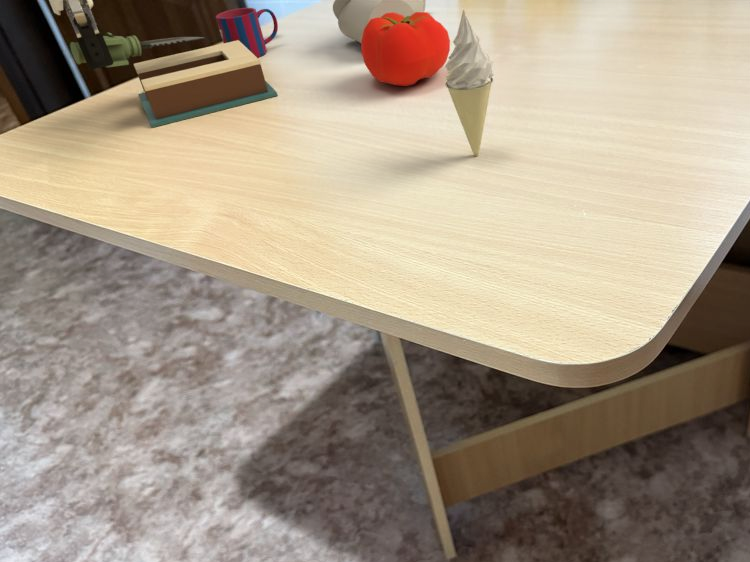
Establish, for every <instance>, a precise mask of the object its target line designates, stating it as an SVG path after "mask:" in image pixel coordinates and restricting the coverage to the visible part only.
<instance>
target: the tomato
mask: <svg viewBox="0 0 750 562" xmlns="http://www.w3.org/2000/svg"><path fill="white" fill-rule="evenodd" d="M360 47H361V48H360V49H361V56H362V60H363V62H364V65H365V67H366V68H367V69H368V72H369V73H370V75H371V76H372V77H373V78H374V79H376V80H377V81H378V82H381V83H384V84H389V85H394V86H399V87H408V86H409V87H410V86H412V85H416V83H417V82H418V81H419V80H424V79H427V78H432V77H433V76H435V74H437V72H439V71H440V70H441V69H442V67H444V66H445V65H446V63H447V60H448V58H449V55H450V50H451V40H450V36H449V32H448V29H446V28H445V27H444V25H443V24H442V23H441V22H439V21H438V20H436V19H435V18H434V16H433V15H431V13H429V12H426V11H424V12H415V13H414V14H413V15H411V16H407V17H404V16H403V15H400V14H396V13H386V14H384V15H383V16H381V17H380V18H379V17H378V18H373V19H371V20H370V21H369V22H368V24H367V25H366V27H365V29H364V31H363V36H362V40H361V43H360Z"/></svg>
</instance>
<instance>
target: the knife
mask: <svg viewBox="0 0 750 562" xmlns="http://www.w3.org/2000/svg"><path fill="white" fill-rule="evenodd" d="M105 34H106V35H103V38H104V40H105V42H106V45H107V47H108V50H109V52H110V55H111V57H112V60H113V64H112V65H109V66H105V67H104V68H113V67H121V66H128V65H130V62H129V59H130V57H132V58H135V57H141V56H142V53H143V51H142V50H144V49H145V50H146V49H153V48H154V47H163V46H170V45H175V44H181V43H186V42H187V43H188V42H192V41H197V40H203V39H205V37H204V36H179V37H168V38H166V37H165V38H159V39H150V40H143V41H141V40H139V39H138V37H137V36H136V35H129V36H126V37H125V36H122V35H113V34H112V32H106V33H105ZM69 47H70V51H71V55H72V57H73V59H74V61H75V63H76V64H77V65H81V64H87V63H86V60H85V58H84V56H83V53H82V51H81V49H80V46H79V44H78V42H77V41H76V42H74V41H71V42H70V44H69Z"/></svg>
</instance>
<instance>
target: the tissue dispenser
mask: <svg viewBox="0 0 750 562" xmlns="http://www.w3.org/2000/svg"><path fill="white" fill-rule="evenodd" d="M133 67H134V69H135V72H136V74H137V77H138V79H139V82H140V84H141V87H142V89H143V92H140V93H138V94H137V97H138V98H139V100H140V103H141V106H142V107H143V110H144V113H145V115H146V118H147V120H148V122H149V125H150V128H157V127H161V126H164V125H168V124H172V123H176V122H180V121H184V120H188V119H193V118H196V117H200V116H204V115H208V114H211V113H216V112H220V111H224V110H228V109H231V108H236V107H239V106H244V105H248V104H251V103H255V102H259V101H263V100H268V99H271V98H275V97H278V92H277V91H276V90H275V88H273V87H272V86H271V84H269V83H268V81H267V80H266V78H265V75H264V72H263V67H262V64H261V60H260V59H259V57H258V58H257V57H256V56H255V55H254V54H253V53H252V52H250V51H249V50H248V49H247V48H246V47H245V46H244V45H243V44H242V43H241V42H240V41H239V40H237V41H232V42H228V43H220V44H215V45H210V46H206V47H202V48H198V49H193V50H189V51H184V52H180V53H175V54H171V55H166V56H162V57H158V58H154V59H153V58H152V59H148V60H144V61H140V62H135V63H133Z"/></svg>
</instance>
